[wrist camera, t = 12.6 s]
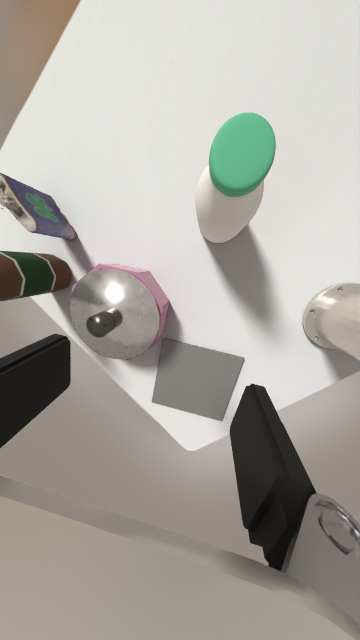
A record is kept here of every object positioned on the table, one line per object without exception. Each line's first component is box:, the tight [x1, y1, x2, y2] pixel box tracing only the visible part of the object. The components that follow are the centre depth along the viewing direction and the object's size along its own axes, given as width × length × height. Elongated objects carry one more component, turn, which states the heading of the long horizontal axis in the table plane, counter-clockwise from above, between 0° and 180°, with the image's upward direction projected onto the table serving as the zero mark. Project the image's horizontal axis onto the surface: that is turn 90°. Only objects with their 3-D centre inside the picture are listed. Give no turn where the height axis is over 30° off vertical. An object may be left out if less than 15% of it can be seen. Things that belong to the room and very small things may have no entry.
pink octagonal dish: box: [72, 264, 169, 360], centre depth 36 cm, size 17×17×6 cm
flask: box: [0, 173, 76, 240], centre depth 30 cm, size 9×3×11 cm, turn 32°
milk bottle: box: [196, 113, 276, 243], centre depth 22 cm, size 8×8×20 cm
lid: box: [70, 269, 160, 359], centre depth 30 cm, size 17×17×6 cm
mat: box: [152, 338, 244, 421], centre depth 42 cm, size 18×18×1 cm
